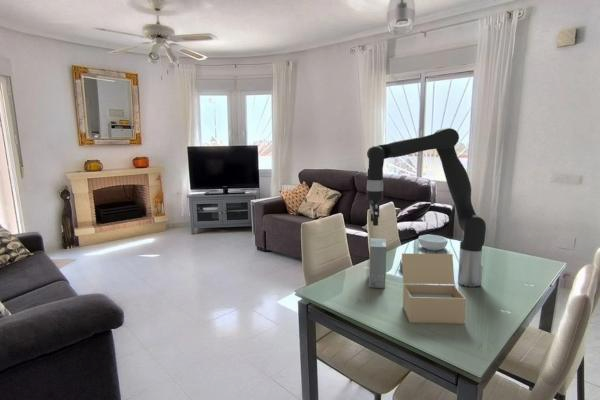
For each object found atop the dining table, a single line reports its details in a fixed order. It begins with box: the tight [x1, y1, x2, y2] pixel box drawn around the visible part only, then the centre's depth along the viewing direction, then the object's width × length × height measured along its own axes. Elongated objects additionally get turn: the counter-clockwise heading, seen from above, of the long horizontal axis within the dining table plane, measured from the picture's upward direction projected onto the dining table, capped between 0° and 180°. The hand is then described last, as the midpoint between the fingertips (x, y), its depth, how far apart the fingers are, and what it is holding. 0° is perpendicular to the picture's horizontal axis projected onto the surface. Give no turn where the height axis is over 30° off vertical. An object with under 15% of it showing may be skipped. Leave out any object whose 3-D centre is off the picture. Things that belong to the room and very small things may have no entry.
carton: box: [402, 283, 467, 325], centre depth 132 cm, size 20×12×10 cm, turn 85°
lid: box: [401, 253, 455, 285], centre depth 139 cm, size 20×12×1 cm
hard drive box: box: [368, 237, 387, 289], centre depth 164 cm, size 16×8×20 cm, turn 168°
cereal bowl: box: [418, 234, 448, 252], centre depth 215 cm, size 17×17×7 cm
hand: (374, 223), depth 161 cm, fingers open, 8 cm apart
